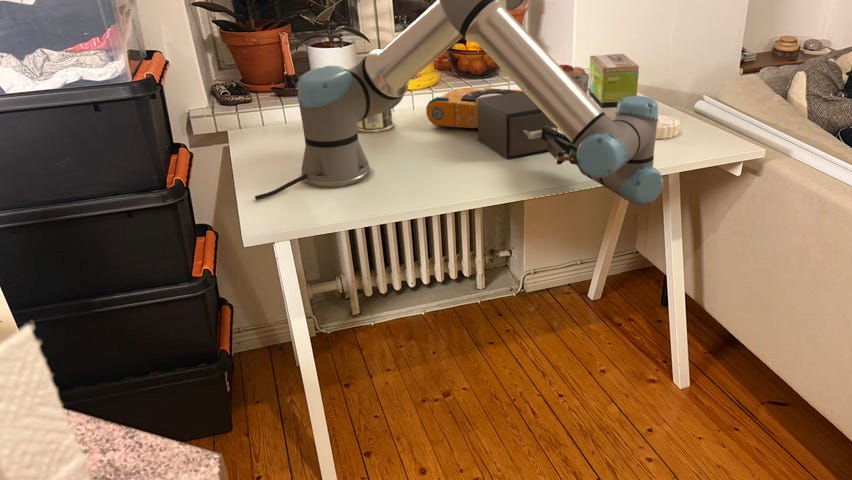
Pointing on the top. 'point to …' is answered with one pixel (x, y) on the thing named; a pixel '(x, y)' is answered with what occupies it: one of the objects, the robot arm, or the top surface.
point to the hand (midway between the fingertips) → (544, 132)
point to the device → (460, 107)
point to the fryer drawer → (528, 133)
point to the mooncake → (667, 126)
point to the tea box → (612, 81)
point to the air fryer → (502, 119)
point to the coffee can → (376, 123)
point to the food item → (577, 76)
